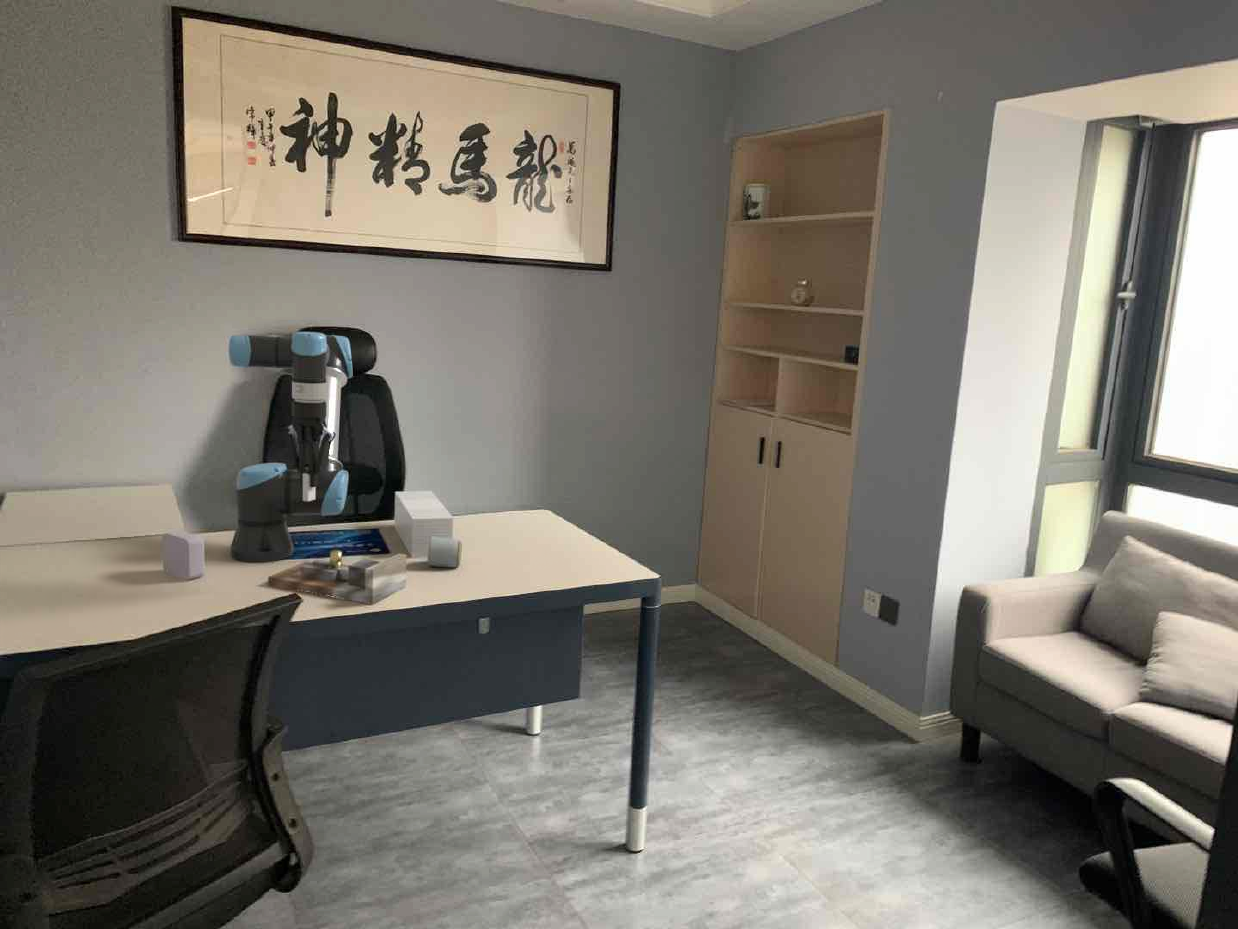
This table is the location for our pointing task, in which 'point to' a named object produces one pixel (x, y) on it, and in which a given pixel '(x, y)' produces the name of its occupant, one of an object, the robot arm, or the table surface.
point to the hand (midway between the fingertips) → (309, 499)
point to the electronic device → (183, 555)
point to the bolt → (338, 564)
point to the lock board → (362, 585)
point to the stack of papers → (421, 520)
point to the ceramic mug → (444, 552)
